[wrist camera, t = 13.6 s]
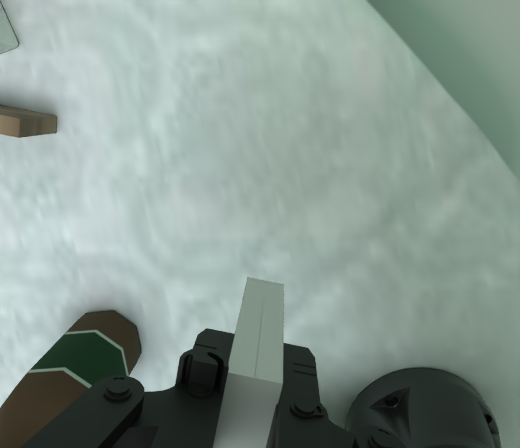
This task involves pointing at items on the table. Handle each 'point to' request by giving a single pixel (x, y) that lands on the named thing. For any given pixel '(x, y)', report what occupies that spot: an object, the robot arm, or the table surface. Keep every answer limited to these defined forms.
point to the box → (25, 122)
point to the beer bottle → (68, 373)
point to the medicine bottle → (6, 33)
